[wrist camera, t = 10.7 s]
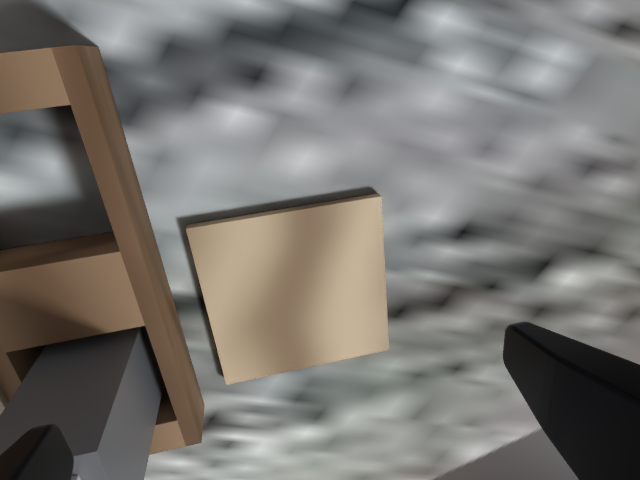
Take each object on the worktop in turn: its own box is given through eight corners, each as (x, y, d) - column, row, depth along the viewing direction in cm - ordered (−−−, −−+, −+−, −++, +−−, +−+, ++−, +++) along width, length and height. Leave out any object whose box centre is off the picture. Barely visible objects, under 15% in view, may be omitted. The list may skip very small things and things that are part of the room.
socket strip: (98, 47, 16) (72, 44, 13) (204, 405, 23) (200, 447, 21) (-207, 80, 14) (-299, 84, 12) (9, 448, 22) (-20, 499, 19)
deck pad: (378, 193, 20) (381, 196, 20) (385, 344, 24) (388, 349, 23) (186, 224, 19) (185, 228, 19) (226, 378, 23) (226, 384, 22)
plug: (145, 312, 20) (91, 468, 13) (165, 376, 22) (128, 549, 14) (57, 328, 20) (-57, 501, 12) (85, 392, 21) (1, 581, 14)
